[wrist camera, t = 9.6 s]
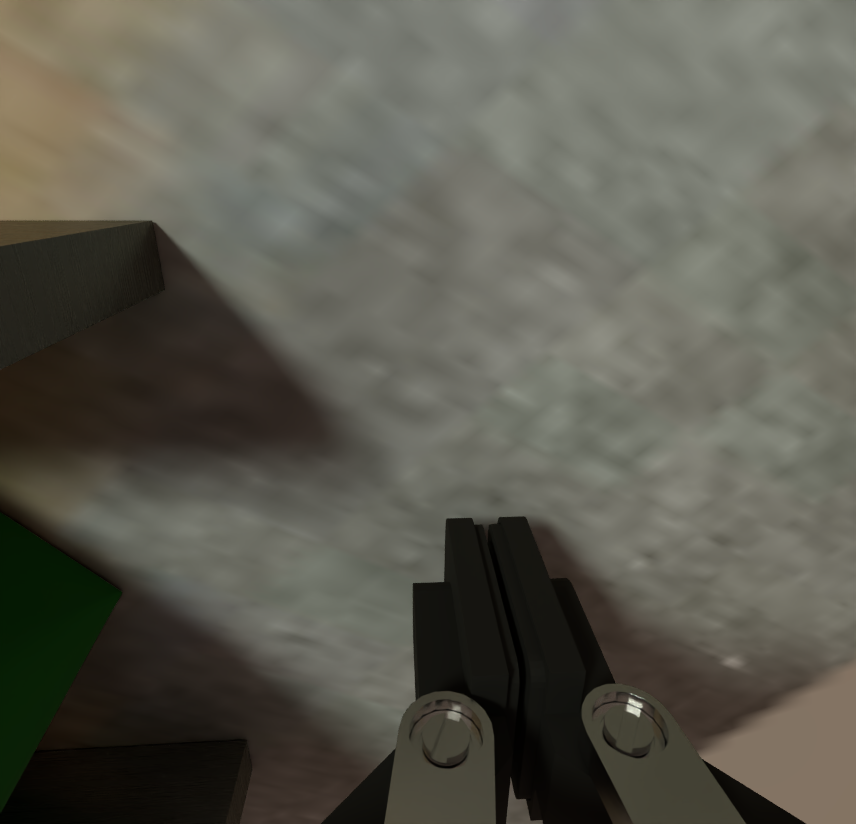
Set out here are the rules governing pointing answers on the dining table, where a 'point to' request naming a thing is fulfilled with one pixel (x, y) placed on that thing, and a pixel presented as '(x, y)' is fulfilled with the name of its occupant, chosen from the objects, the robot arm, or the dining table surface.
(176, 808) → the bracket
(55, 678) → the soya milk
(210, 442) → the dining table surface
